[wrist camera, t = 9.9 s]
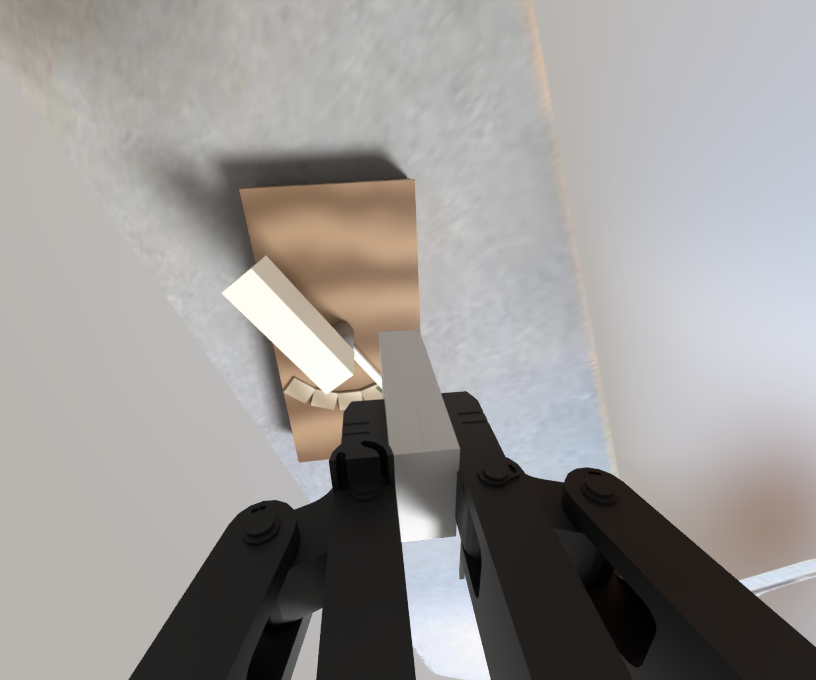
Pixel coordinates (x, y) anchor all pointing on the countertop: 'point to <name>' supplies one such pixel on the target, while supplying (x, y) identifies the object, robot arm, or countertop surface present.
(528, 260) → the countertop surface
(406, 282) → the board
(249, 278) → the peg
